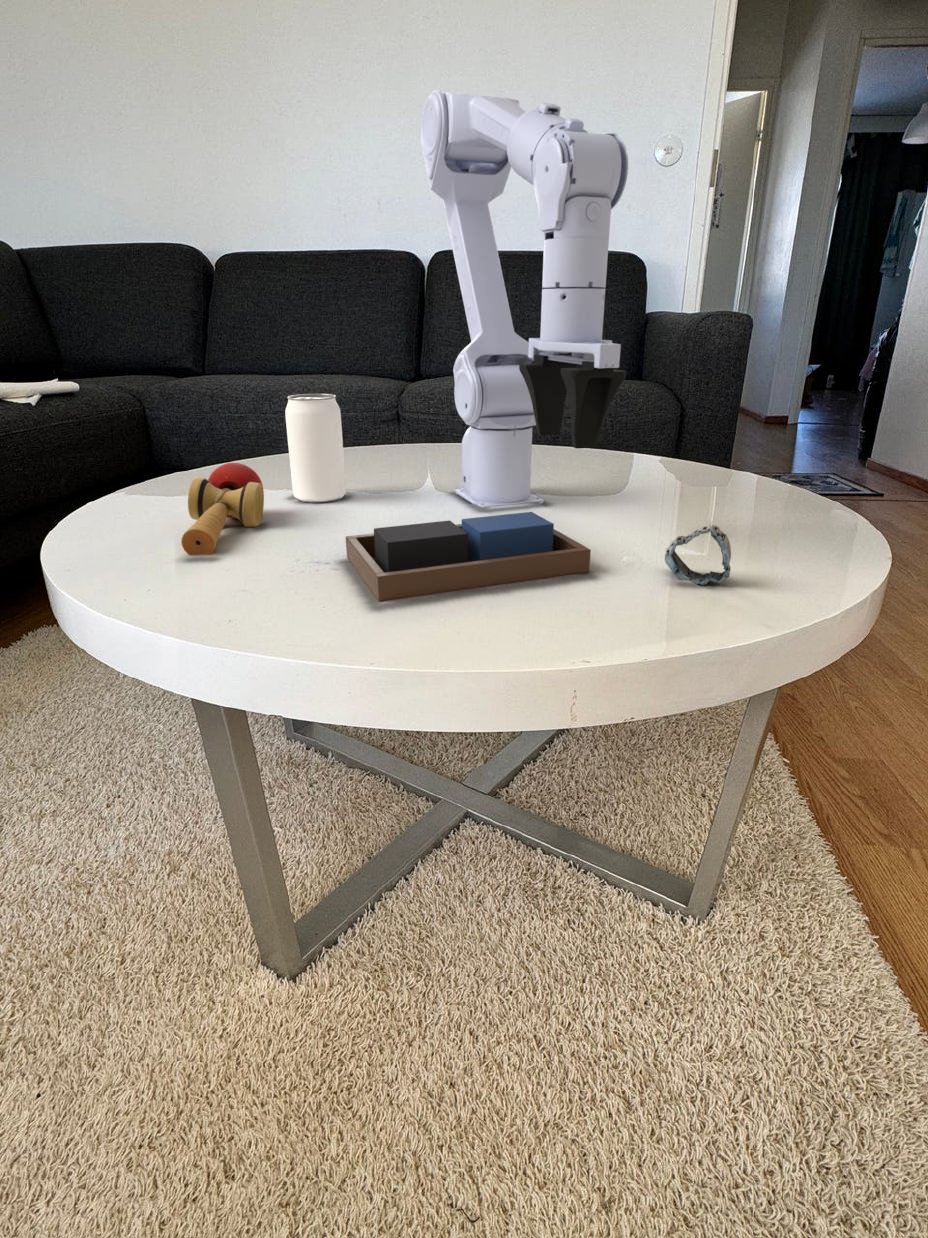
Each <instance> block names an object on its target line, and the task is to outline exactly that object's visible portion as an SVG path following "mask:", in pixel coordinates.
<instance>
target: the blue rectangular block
mask: <svg viewBox="0 0 928 1238" xmlns="http://www.w3.org/2000/svg"><path fill="white" fill-rule="evenodd" d="M461 524H462V530H463V531H465V532H466V533H467V534H468V561H469V562H473V561H481V560H489V559H497V558H505V557H513V556H521V555H528V554H536V553H544V552H552V551H553V530H554V529H555V524H554V523H553V522H551V521H550V520H547V519H546V518H544V517H542V516H541V515H538V514H536V513H535V512H533V511H526V512H517V513H508V514H498V515H497V514H496V515H489V516H479V517H469V518H462V519H461Z"/></svg>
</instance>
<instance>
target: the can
mask: <svg viewBox="0 0 928 1238" xmlns="http://www.w3.org/2000/svg"><path fill="white" fill-rule="evenodd" d="M336 398H337V395H336V394H331V393H302V394H301V393H299V394H292V395H288V396H287V399H288V400H287V404H286V407H285V410H284V411H285V412H284V415H285V426H286V427H285V428H286V436H287V447H288V457H289V459H288V460H289V467H290V468H289V469H290V477H291V478H290V479H291V487H292V495H293V497H294V498H295V499H296V500H297V501H299V502H303V503H311V504H312V503H314V504H315V503H327V502H328V503H329V502H335V501H339V500H341V499H343V498H344V496H345V495H346V494H347V486H346V485H347V484H346V471H345V470H346V469H345V455H344V440H343V426H342V413H341V408H340V406H339V403H338V402H337V400H336Z"/></svg>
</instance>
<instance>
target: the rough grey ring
mask: <svg viewBox="0 0 928 1238" xmlns="http://www.w3.org/2000/svg"><path fill="white" fill-rule="evenodd" d="M708 533H710V536H711V537H712V538H713V540H714V541H715V542H716V543H717V544H718V547H719V548H720V552H721V557H722V561H721V566H723V570H724V571H722V572H718V571H712V570H711V571H710V572H705V573H700V572H697V571H694V570H693V569H691V568H689V566H688V565H687V564H686V563H685V562H684V561H683V560H682V559H681V557H680V555H678V554H677V551H676V548H677V546H683V545H687V544H688V543H689V542H691V541H692V540H694V539H695V538H697V537H699V536H700V535H705V534H708ZM665 550H666V551H665V554H664V563H665V564H666V566H667V567H668V568H669V570H670V571H671V573H672V574H673V575H674V576H675V578H677V580H679V581H680V580H683V581H690V582H691V583H693V584H695V585H701V586H704V585H707V584H708V583H709V582H713V583H718V584H721V583H723V582H725V581H726V580H727V579H729V578H730V576H731V565H730V563H731V559H732V546H731V543H730V540H729V537H728V535H727V534H726V533H724V531H723V530H721V528H720V527H718V526H717V525H715V524H712V525H708V526H702V527H701V528H698V529H696V530H694V531H693V532H691V533H689V534H688V535H686V536H685V535H678V536H677V537H676V538H675V539H674V540H673V541H672V542H671V544H670V545H669V546H668V547H666V548H665Z"/></svg>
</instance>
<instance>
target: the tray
mask: <svg viewBox="0 0 928 1238" xmlns="http://www.w3.org/2000/svg"><path fill="white" fill-rule="evenodd" d="M456 525H457V526H458V527H459V528H461V529H462V523H458V524H456ZM345 549H346V559H347V560H348V562H349V563H350V564H351V566H352V567H353V568H354V570H355V571H356V572H357V574H358V575H359V577H361V579H362V581H363V582H364V583H365V585H366V587H368V589H369V590H370V592H371V593H372V595H373V596H374V597H375V598H376V600H377V601H378V602H380V603H381V602H386V601H395V600H402V599H409V598H415V597H423V596H424V597H425V596H431V595H438V594H443V593H444V594H445V593H452V592H458V591H459V592H460V591H465V590H473V589H474V590H475V589H479V588H480V589H481V588H488V587H495V586H501V585H502V586H503V585H509V584H517V583H524V582H529V581H539V580H544V579H552V578H559V577H566V576H573V575H579V574H588V573H590V567H591V566H590V565H591V564H590V563H591V551H592V550H591V549H590V548H588V547H587V546H585V545H584V544H582V543H580V542H578V541H577V540H575V539H572V538H571V537H569V536H567V535H565V534H564V533H562V532H560V531H558V530H557V529H555V528H554V530H553V551H552V552H544V553H536V554H528V555H521V556H513V557H505V558H497V559H489V560H481V561H473V562H469V561H468V562H465V563H457V564H449V565H442V566H434V567H426V568H418V569H410V570H402V571H394V572H386V573H384V571H383V570H382V569H381V568H380V567H379V565H378V564H377V563H376V561H375V543H374V532H373V533H364V534H355V535H347V536H345Z"/></svg>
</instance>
